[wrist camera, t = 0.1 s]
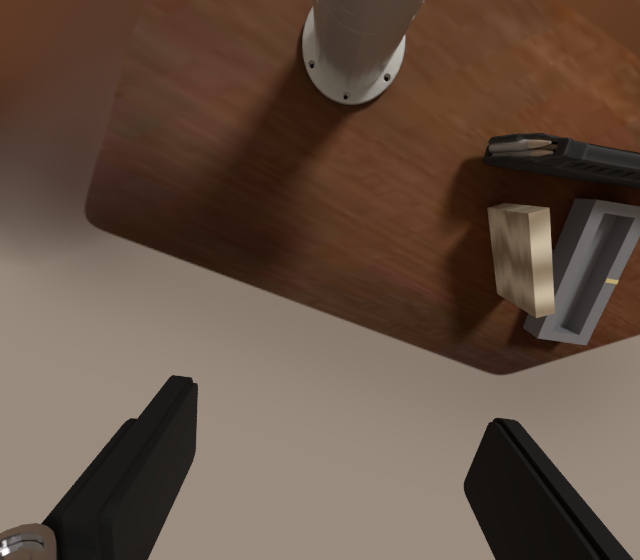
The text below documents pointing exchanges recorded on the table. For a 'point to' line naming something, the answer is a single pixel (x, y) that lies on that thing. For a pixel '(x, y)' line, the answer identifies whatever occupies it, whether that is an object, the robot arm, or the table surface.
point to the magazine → (564, 158)
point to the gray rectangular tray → (587, 268)
